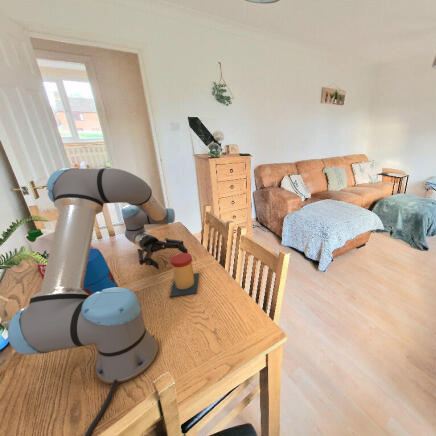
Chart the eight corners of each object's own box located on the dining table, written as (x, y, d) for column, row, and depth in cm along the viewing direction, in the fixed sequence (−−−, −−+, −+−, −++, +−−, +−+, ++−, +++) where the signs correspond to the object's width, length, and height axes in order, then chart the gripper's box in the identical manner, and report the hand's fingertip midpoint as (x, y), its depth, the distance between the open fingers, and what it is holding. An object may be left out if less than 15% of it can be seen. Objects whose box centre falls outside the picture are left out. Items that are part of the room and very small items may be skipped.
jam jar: (193, 287, 102) (190, 262, 97) (174, 290, 100) (169, 265, 95) (195, 277, 109) (191, 253, 104) (177, 279, 106) (172, 255, 102)
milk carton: (36, 271, 108) (18, 232, 100) (56, 261, 116) (41, 223, 109) (53, 273, 107) (37, 234, 100) (72, 262, 116) (58, 225, 108)
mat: (196, 293, 99) (196, 292, 99) (170, 297, 97) (169, 296, 96) (198, 274, 112) (198, 273, 112) (175, 276, 109) (175, 275, 109)
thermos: (86, 327, 83) (50, 271, 71) (98, 304, 92) (68, 251, 80) (122, 319, 86) (93, 263, 74) (130, 297, 95) (105, 245, 83)
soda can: (49, 282, 102) (39, 258, 97) (68, 278, 105) (59, 255, 100) (43, 291, 97) (32, 266, 92) (64, 287, 100) (54, 262, 95)
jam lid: (191, 266, 97) (190, 262, 97) (169, 268, 95) (168, 264, 94) (192, 255, 105) (192, 252, 104) (172, 257, 102) (172, 254, 102)
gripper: (173, 238, 126) (198, 253, 115) (120, 260, 107) (145, 280, 96) (170, 226, 122) (196, 239, 112) (116, 246, 103) (141, 265, 93)
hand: (172, 258), depth 104 cm, fingers open, 13 cm apart
